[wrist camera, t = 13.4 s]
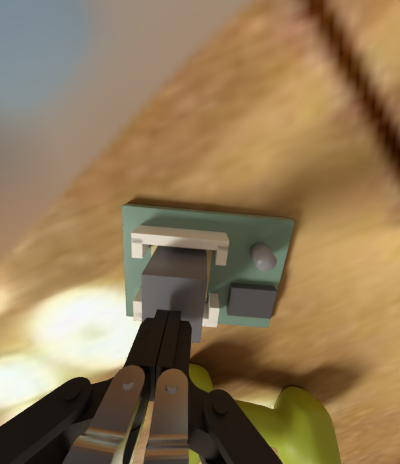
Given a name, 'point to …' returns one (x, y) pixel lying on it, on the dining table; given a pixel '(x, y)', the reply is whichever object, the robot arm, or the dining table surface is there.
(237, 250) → the board
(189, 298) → the plug
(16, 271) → the dining table surface
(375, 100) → the dining table surface
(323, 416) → the dumbbell
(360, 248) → the dining table surface
